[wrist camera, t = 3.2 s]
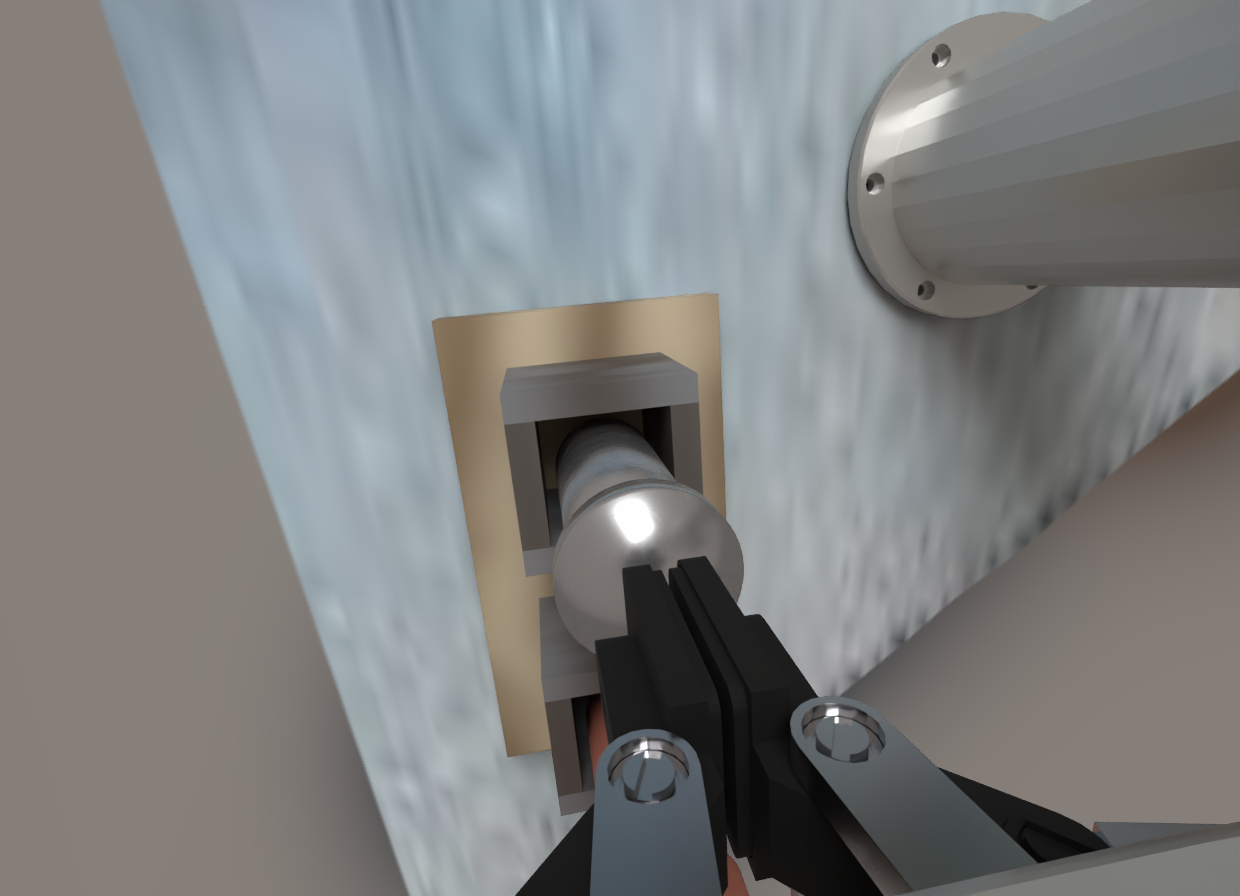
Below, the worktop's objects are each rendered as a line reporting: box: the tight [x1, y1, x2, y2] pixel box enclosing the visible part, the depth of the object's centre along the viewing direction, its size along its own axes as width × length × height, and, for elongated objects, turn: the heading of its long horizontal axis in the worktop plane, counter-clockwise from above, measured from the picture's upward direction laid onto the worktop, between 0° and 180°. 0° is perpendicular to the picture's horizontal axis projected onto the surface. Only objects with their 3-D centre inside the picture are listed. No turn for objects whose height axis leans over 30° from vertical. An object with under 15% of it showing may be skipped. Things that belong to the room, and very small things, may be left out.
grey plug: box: [552, 417, 744, 654], centre depth 17 cm, size 4×4×9 cm
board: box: [432, 293, 726, 816], centre depth 26 cm, size 12×22×8 cm, turn 5°
